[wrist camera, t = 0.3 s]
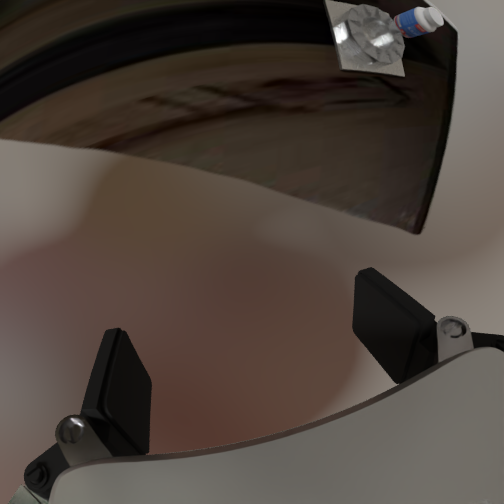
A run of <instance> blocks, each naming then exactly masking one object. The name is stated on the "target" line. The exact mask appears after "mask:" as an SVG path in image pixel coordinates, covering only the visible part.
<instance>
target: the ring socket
mask: <svg viewBox="0 0 504 504" xmlns="http://www.w3.org/2000/svg"><path fill="white" fill-rule="evenodd" d="M323 4H324V7H325V11H326V14H327V18H328V21H329V25H330V29H331V33H332V36H333V41H334V45H335V49H336V53H337V58H338V62H339V67H340V70H348V71H360V72H370V73H378V74H386V75H392V76H399V77H405V74H404V69H403V65H402V60H401V58H402V55H403V51H404V47H405V45H404V41H403V38H402V34H401V31H400V30H399V28H398V27H397V26H396V24H395V23H394V21H393V20H392V19H391V17H389V14H388V13H385V12H382V11H381V10H380V9H378V8H377V7H373V6H369V5H365V4H361V5H359V6H357V5H352V4H347V3H342V2H336V1H330V0H324V1H323Z"/></svg>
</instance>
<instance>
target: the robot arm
mask: <svg viewBox="0 0 504 504" xmlns="http://www.w3.org/2000/svg"><path fill="white" fill-rule="evenodd" d="M353 310H354V311H353V324H352V328H353V332H354V333H355V335H356V336H357V337H358V338H359V340H360V341H361V342H362V343H363V344H364V346H365V347H366V348H367V349H368V350H369V352H370V353H371V354H372V355H373V357H374V358H375V359H376V360H377V361H378V363H379V364H380V365H381V366H382V368H383V369H384V370H385V371H386V373H388V375H389V376H390V377H391V379H392V380H393V381H394V382H395V383H396V384H399V385H397V386H395V387H393V388H391V389H389V390H387V391H385V392H383V393H381V394H379V395H377V396H375V397H373V398H370V399H368V400H366V401H364V402H362V403H359V404H357V405H355V406H352V407H350V408H348V409H345V410H343V411H340V412H338V413H335V414H332V415H330V416H327V417H325V418H322V419H319V420H316V421H313V422H310V423H307V424H304V425H301V426H298V427H295V428H292V429H289V430H285V431H282V432H278V433H275V434H271V435H267V436H263V437H260V438H256V439H251V440H247V441H242V442H238V443H233V444H228V445H223V446H217V447H211V448H205V449H199V450H192V451H183V452H174V453H165V454H155V455H146V453H149V436H150V432H149V431H150V407H151V390H152V382H151V379H150V376H149V375H148V373H147V371H146V369H145V368H144V366H143V364H142V362H141V360H140V359H139V356H138V355H137V352H136V351H135V349H134V347H133V345H132V343H131V341H130V339H129V336H128V334H127V333H126V331H122V330H121V329H120V328H114V329H108V330H106V331H105V334H104V336H103V339H102V342H101V345H100V348H99V351H98V354H97V357H96V360H95V363H94V366H93V369H92V373H91V376H90V379H89V383H88V386H87V390H86V393H85V397H84V401H83V405H82V409H81V413H80V415H70V416H67V417H65V418H64V419H63V420H61V421H60V423H59V424H58V425H57V428H56V431H55V436H56V440H57V443H56V444H54V445H53V446H52V447H51V448H49V449H48V450H47V451H45V452H44V453H43V454H42V455H40V456H39V457H38V458H36V459H35V460H34V461H32V462H31V463H30V464H29V465H28V466H27V468H26V469H25V473H24V481H25V484H26V485H25V486H23V485H22V484H21V486H20V487H19V488H18V490H17V491H16V493H15V494H14V496H13V497H12V499H11V500H10V501H9V503H8V504H504V336H503V335H496V334H485V333H476V332H471V331H470V328H469V325H468V324H467V323H466V322H465V321H464V320H462V319H461V318H458V317H454V316H446V317H443V318H441V319H440V320H439V321H438V323H437V322H436V321H435V320H434V319H435V315H433V314H432V313H431V312H430V311H428V310H427V309H426V308H425V307H423V306H422V305H421V304H420V303H418V302H417V301H416V300H415V299H413V298H412V297H411V296H410V295H408V294H407V293H406V292H404V291H403V290H402V289H400V288H399V287H398V286H397V285H395V284H394V283H393V282H391V281H390V280H389V279H387V278H386V277H385V276H383V275H382V274H381V273H379V272H378V271H377V270H375V269H374V268H372V267H370V268H367V269H363V270H360V271H359V272H358V275H356V277H355V290H354V309H353Z"/></svg>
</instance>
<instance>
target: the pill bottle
mask: <svg viewBox="0 0 504 504" xmlns="http://www.w3.org/2000/svg"><path fill="white" fill-rule="evenodd" d="M394 23H395V24H396V26H397V27H398V28H399V30H400V31H401V34H402V35H403V36H404V37H407V38H412V37H415V36H419V35H422V34H426V33H429V32H433V31H435V30H436V27H439V26H442V25H443V23H444V22H443V18H442V16H441V15H440V13H439V12H438V11H437V10H436V9H435V8H433V7H429V8H422V7H417V8H414V9H412V10H409V11H407V12H404V13H402V14H399V15H397V16H395V18H394Z"/></svg>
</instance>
